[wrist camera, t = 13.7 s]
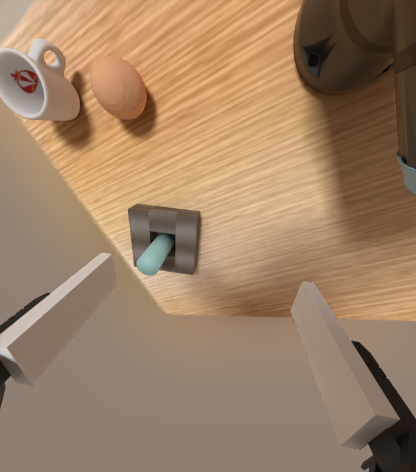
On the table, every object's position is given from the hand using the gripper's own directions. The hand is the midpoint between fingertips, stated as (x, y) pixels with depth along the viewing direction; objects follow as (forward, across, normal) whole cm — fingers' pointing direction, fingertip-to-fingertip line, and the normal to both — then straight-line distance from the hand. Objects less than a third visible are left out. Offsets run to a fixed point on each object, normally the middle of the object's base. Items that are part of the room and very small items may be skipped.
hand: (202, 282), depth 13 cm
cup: (+27, -29, +15) cm, 42 cm away
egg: (+27, -17, +15) cm, 35 cm away
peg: (+27, -11, -11) cm, 31 cm away
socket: (+27, -11, -11) cm, 31 cm away
